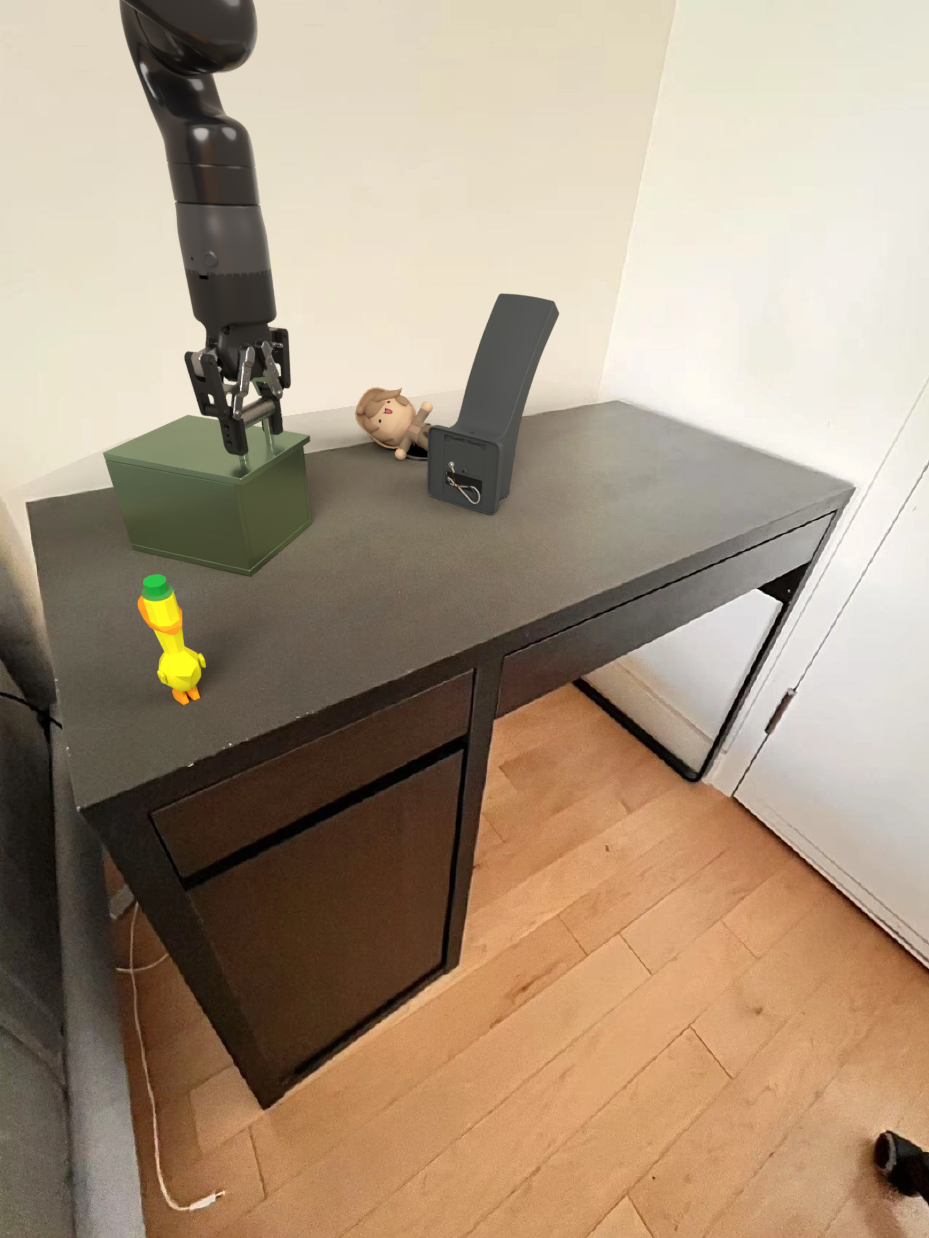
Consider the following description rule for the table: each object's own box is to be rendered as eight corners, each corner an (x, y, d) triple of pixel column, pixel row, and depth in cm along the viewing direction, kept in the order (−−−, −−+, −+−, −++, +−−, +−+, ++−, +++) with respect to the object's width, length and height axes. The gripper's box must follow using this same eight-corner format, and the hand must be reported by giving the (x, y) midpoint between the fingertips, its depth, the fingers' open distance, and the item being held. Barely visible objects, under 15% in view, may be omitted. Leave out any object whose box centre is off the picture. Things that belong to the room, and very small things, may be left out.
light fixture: (548, 476, 94) (571, 299, 79) (492, 518, 82) (508, 317, 67) (486, 459, 98) (498, 288, 84) (425, 497, 86) (426, 304, 72)
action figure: (407, 456, 89) (339, 425, 96) (442, 487, 98) (378, 456, 105) (441, 394, 88) (371, 368, 95) (473, 431, 98) (407, 405, 105)
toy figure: (150, 682, 53) (109, 563, 46) (191, 665, 55) (158, 548, 48) (181, 725, 49) (141, 603, 42) (224, 706, 51) (193, 585, 44)
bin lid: (310, 441, 71) (305, 390, 68) (242, 486, 61) (231, 428, 57) (189, 421, 75) (178, 371, 72) (104, 459, 64) (87, 404, 61)
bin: (312, 523, 78) (303, 440, 72) (250, 576, 67) (233, 484, 61) (207, 502, 81) (189, 421, 75) (132, 550, 71) (104, 460, 64)
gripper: (238, 253, 62) (263, 418, 72) (136, 268, 51) (182, 461, 61) (304, 259, 61) (320, 427, 70) (214, 276, 49) (248, 473, 59)
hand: (256, 442), depth 66 cm, fingers closed on bin lid, 6 cm apart
